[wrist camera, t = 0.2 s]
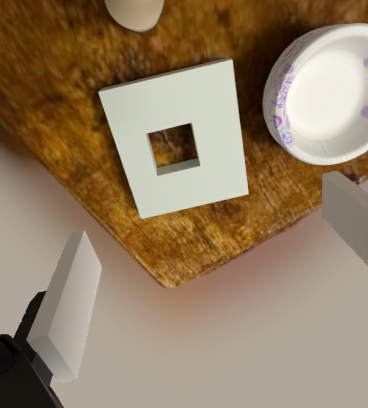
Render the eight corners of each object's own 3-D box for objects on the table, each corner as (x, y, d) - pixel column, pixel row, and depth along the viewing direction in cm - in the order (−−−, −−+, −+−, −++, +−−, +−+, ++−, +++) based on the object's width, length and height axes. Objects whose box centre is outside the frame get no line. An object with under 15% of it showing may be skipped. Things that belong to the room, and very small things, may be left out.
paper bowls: (235, 72, 38) (253, 80, 31) (348, -3, 36) (396, -12, 29) (280, 165, 45) (303, 188, 38) (378, 109, 42) (422, 123, 36)
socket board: (102, 88, 38) (98, 92, 35) (226, 57, 37) (232, 59, 35) (141, 208, 47) (141, 219, 44) (243, 185, 46) (248, 194, 44)
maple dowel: (114, -10, 33) (92, -37, 21) (155, -20, 33) (156, -53, 21) (127, 37, 35) (113, 37, 23) (165, 28, 35) (171, 23, 23)
